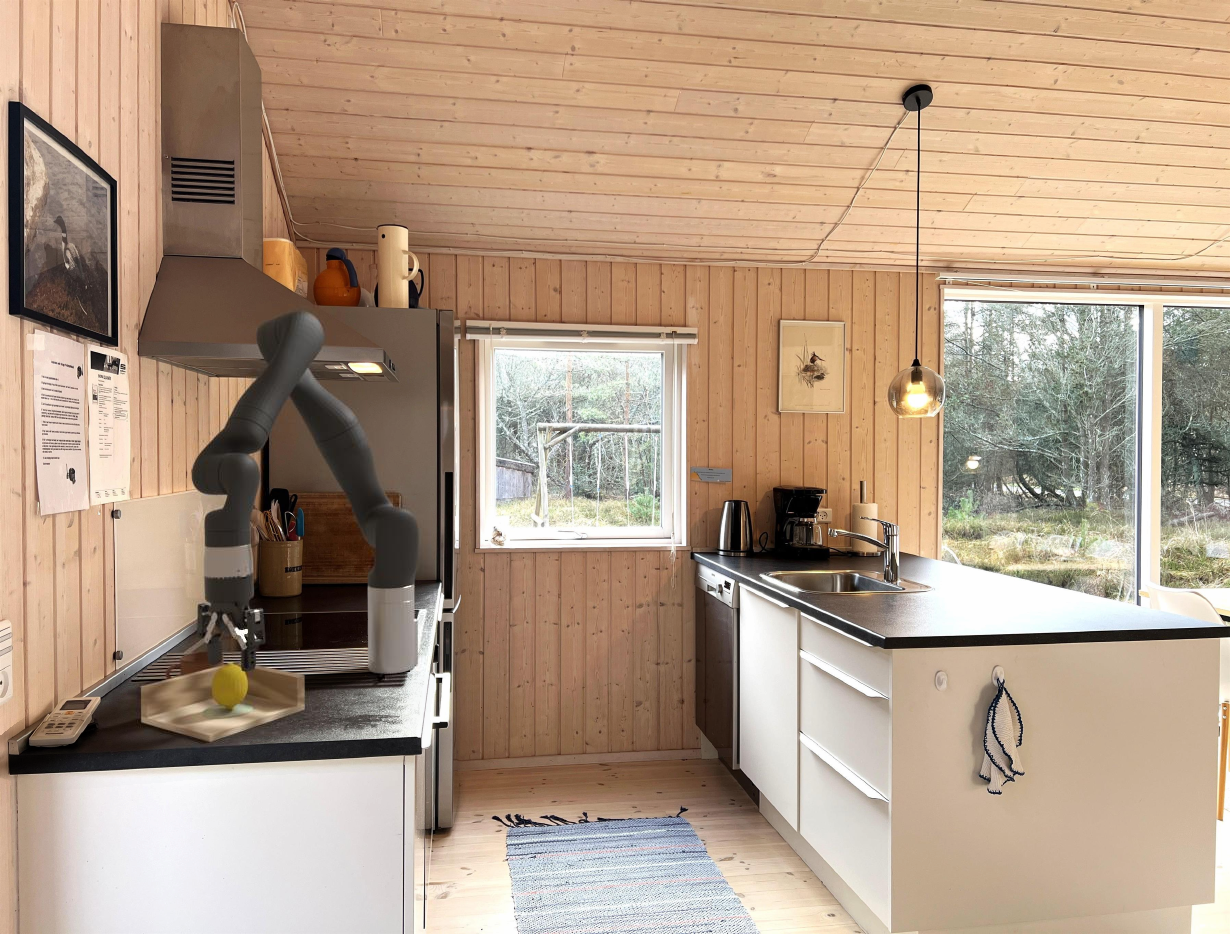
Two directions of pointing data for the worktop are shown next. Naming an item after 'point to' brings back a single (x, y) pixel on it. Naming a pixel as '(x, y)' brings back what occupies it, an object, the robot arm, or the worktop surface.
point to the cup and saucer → (192, 664)
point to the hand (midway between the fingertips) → (231, 667)
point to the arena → (200, 716)
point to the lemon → (229, 686)
